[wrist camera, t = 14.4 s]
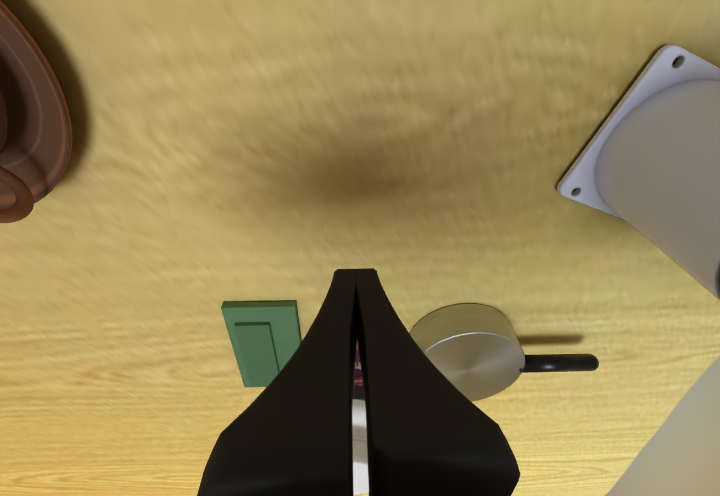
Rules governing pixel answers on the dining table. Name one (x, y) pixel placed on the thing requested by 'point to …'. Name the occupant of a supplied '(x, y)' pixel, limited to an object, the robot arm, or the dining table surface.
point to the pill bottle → (359, 433)
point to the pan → (484, 350)
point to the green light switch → (262, 337)
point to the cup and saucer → (28, 122)
